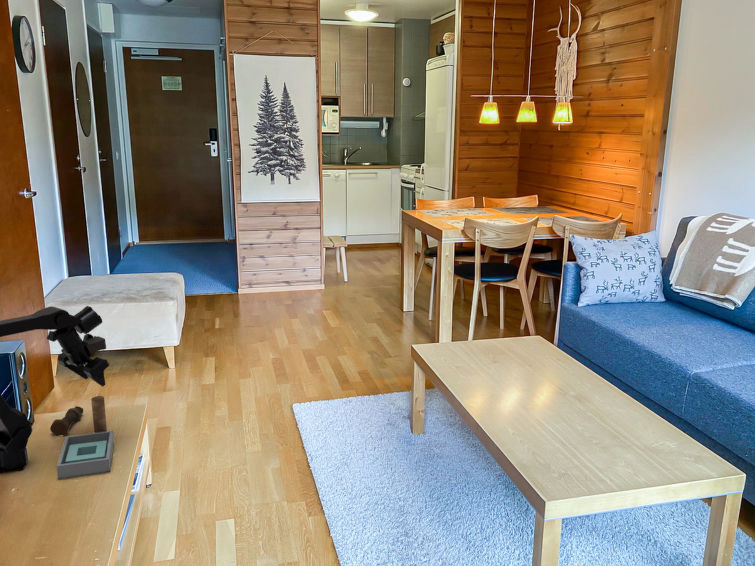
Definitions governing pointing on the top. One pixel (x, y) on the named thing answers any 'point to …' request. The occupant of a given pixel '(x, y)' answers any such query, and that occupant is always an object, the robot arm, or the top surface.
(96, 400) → the peg
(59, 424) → the bolt
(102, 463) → the rim box
